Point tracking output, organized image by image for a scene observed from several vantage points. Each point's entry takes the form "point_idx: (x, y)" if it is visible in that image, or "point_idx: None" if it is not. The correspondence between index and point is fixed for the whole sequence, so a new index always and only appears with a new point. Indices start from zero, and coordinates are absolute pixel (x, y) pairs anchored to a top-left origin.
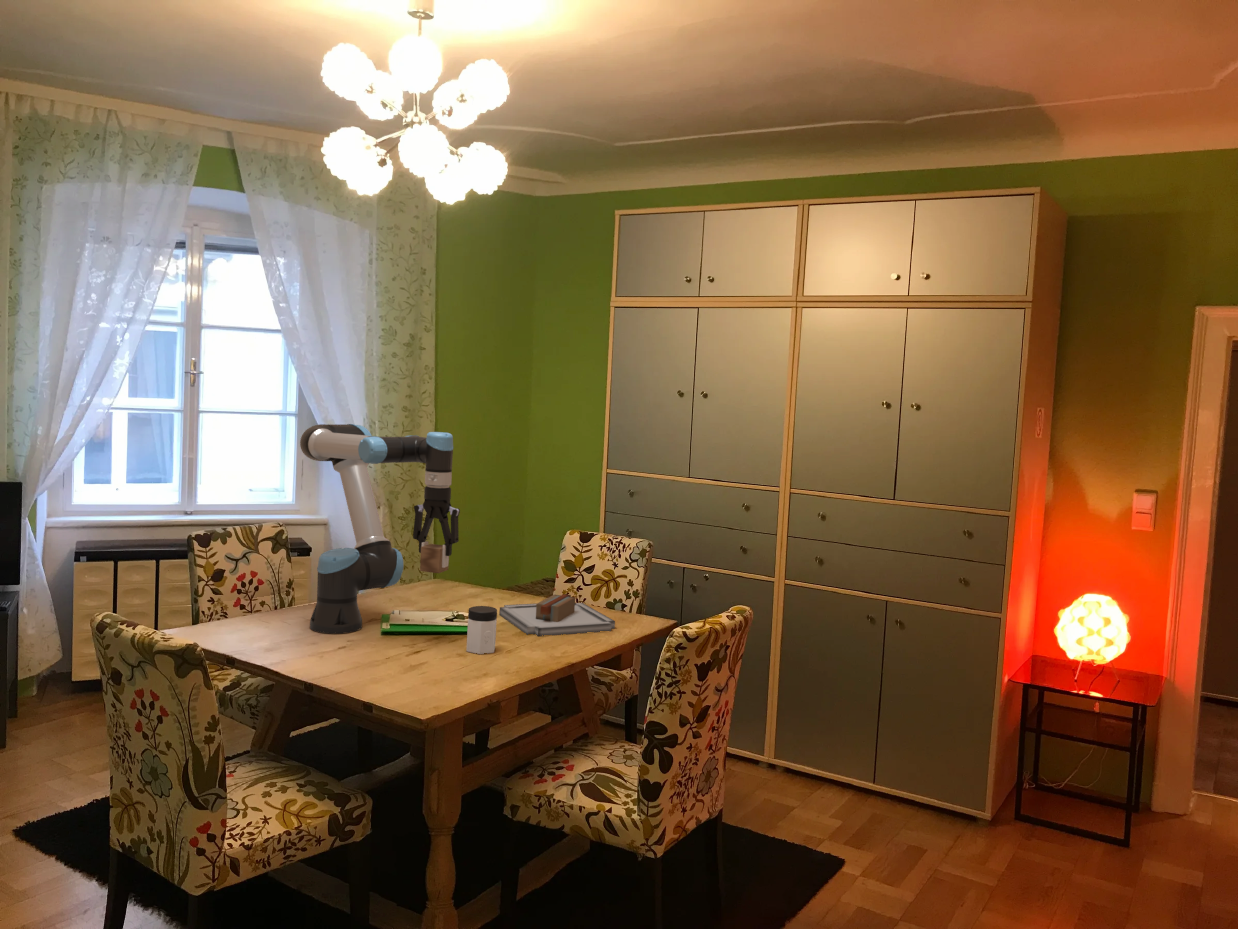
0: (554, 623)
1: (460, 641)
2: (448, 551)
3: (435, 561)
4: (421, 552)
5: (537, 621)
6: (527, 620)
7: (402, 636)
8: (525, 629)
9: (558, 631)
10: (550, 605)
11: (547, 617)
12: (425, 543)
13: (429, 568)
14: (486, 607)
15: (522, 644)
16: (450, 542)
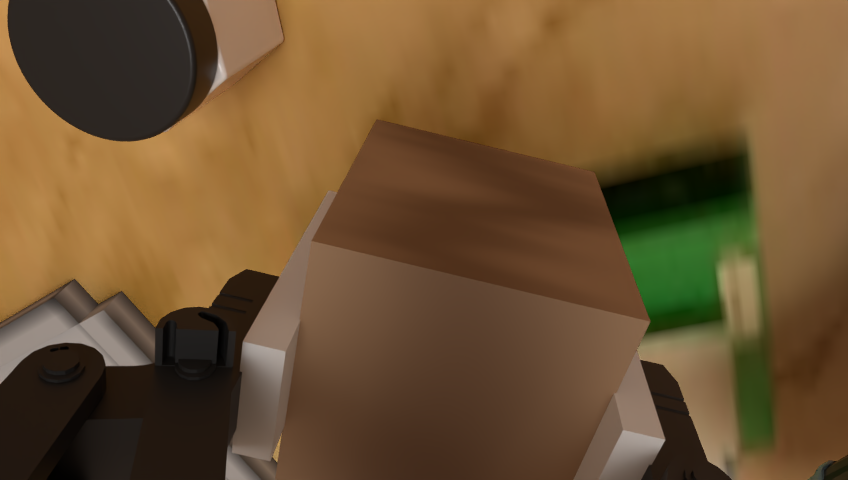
0: None
1: (349, 131)
2: (230, 304)
3: (406, 177)
4: (621, 273)
5: None
6: None
7: (637, 144)
8: (127, 317)
9: (4, 322)
10: None
11: None
12: (602, 454)
13: (486, 160)
14: (100, 103)
15: (80, 154)
16: (140, 387)
